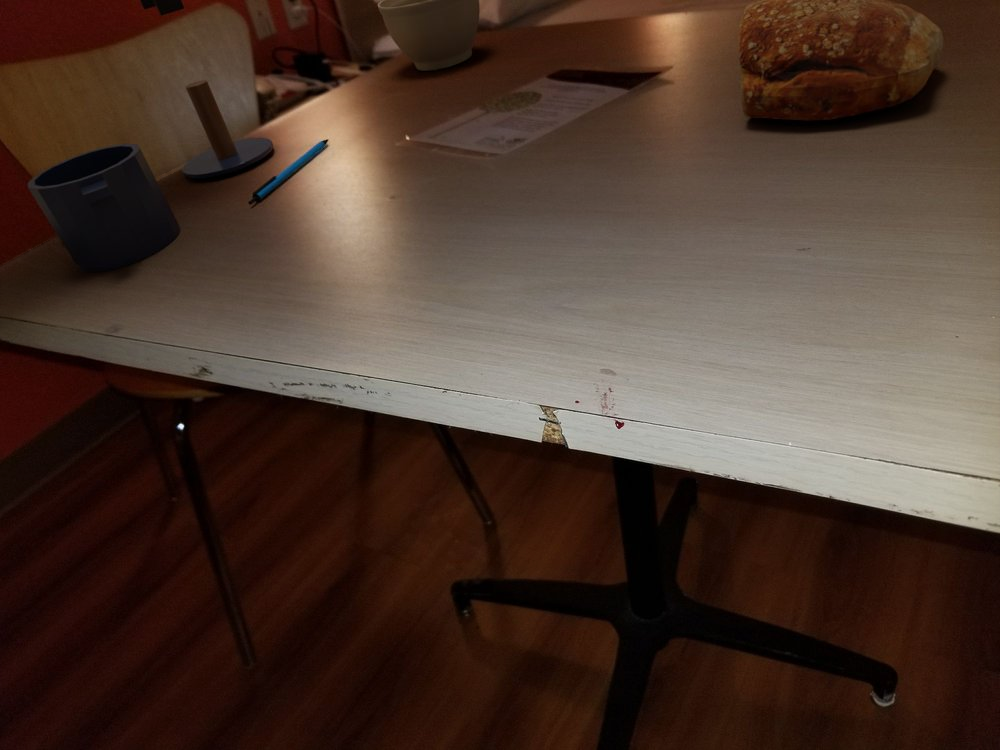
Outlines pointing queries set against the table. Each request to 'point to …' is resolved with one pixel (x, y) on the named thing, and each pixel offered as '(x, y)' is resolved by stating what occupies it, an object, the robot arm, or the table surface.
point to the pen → (286, 173)
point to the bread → (832, 57)
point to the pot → (106, 207)
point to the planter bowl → (432, 30)
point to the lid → (220, 140)
